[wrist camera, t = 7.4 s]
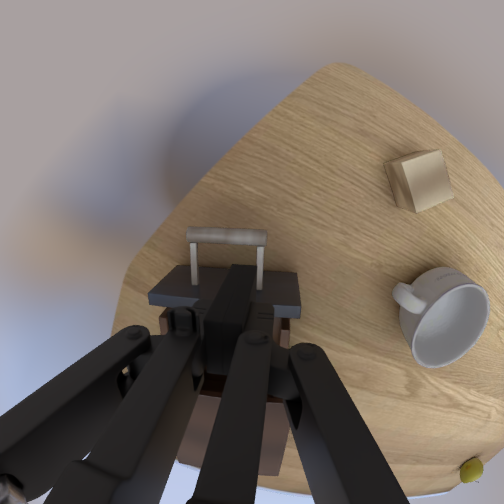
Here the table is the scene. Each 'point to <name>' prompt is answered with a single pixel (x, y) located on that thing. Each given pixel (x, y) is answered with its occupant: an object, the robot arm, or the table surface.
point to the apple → (471, 470)
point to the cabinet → (203, 424)
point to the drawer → (210, 280)
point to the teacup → (441, 315)
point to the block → (419, 180)
